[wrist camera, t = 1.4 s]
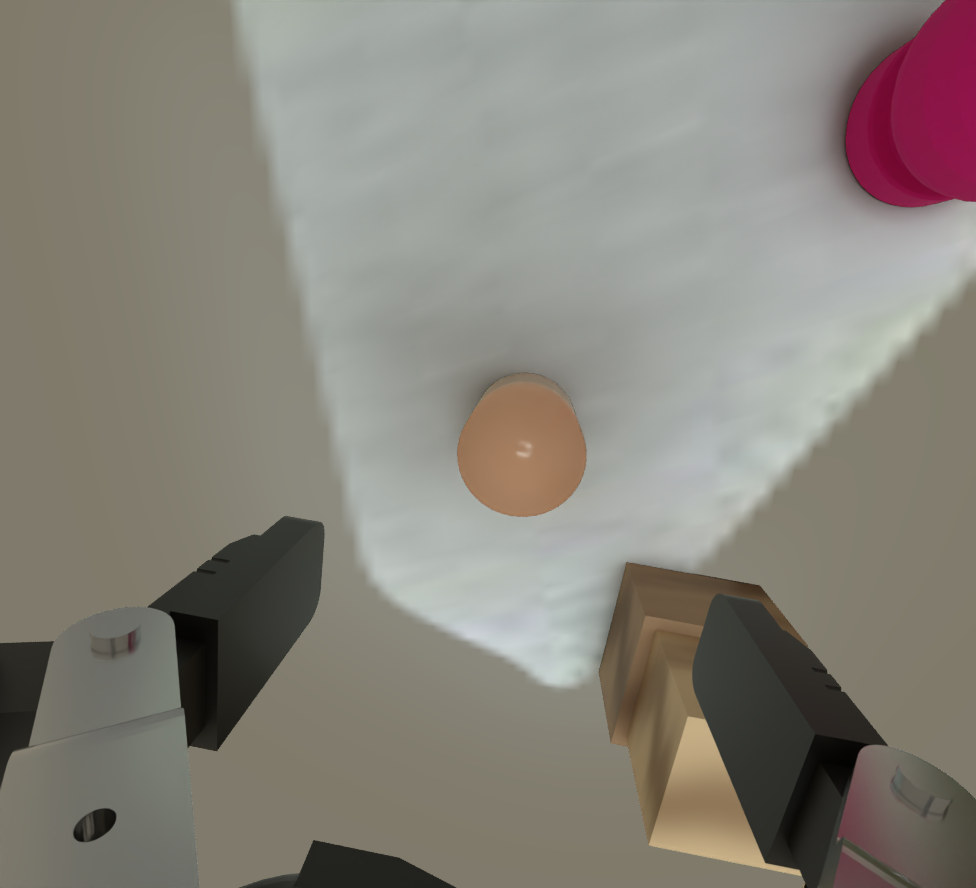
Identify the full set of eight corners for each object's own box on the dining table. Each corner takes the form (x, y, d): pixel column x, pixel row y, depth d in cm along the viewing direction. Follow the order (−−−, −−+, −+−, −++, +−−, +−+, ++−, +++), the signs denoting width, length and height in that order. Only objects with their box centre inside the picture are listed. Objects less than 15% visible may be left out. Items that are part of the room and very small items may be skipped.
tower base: (626, 561, 27) (645, 615, 23) (759, 585, 27) (807, 645, 22) (598, 671, 29) (610, 743, 25) (723, 695, 29) (760, 772, 24)
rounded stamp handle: (482, 365, 25) (466, 383, 20) (584, 381, 25) (598, 404, 19) (468, 461, 27) (449, 505, 21) (564, 478, 26) (572, 526, 21)
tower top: (656, 629, 23) (687, 716, 18) (794, 654, 22) (865, 749, 18) (626, 738, 24) (648, 845, 20) (755, 763, 24) (810, 877, 19)
